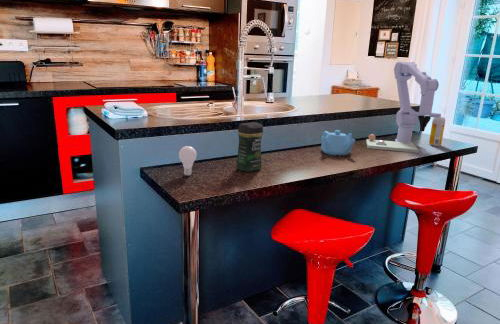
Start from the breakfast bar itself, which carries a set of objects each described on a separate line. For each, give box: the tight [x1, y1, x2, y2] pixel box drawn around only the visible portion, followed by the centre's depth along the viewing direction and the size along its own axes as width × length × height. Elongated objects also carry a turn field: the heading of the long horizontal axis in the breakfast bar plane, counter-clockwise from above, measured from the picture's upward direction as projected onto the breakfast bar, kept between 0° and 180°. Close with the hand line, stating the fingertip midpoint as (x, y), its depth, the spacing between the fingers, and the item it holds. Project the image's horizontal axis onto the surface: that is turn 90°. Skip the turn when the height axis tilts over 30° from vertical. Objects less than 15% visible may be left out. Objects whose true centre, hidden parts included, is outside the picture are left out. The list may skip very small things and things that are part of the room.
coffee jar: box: [235, 121, 264, 173], centre depth 149 cm, size 10×8×19 cm
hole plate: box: [365, 138, 419, 154], centre depth 200 cm, size 16×24×2 cm, turn 76°
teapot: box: [320, 129, 356, 157], centre depth 182 cm, size 15×15×11 cm
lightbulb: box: [178, 145, 198, 177], centre depth 139 cm, size 6×6×11 cm
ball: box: [368, 133, 376, 141], centre depth 206 cm, size 4×4×4 cm
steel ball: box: [378, 139, 385, 145], centre depth 199 cm, size 4×4×4 cm
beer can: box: [428, 116, 446, 147], centre depth 207 cm, size 6×6×15 cm
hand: (422, 130), depth 195 cm, fingers closed
